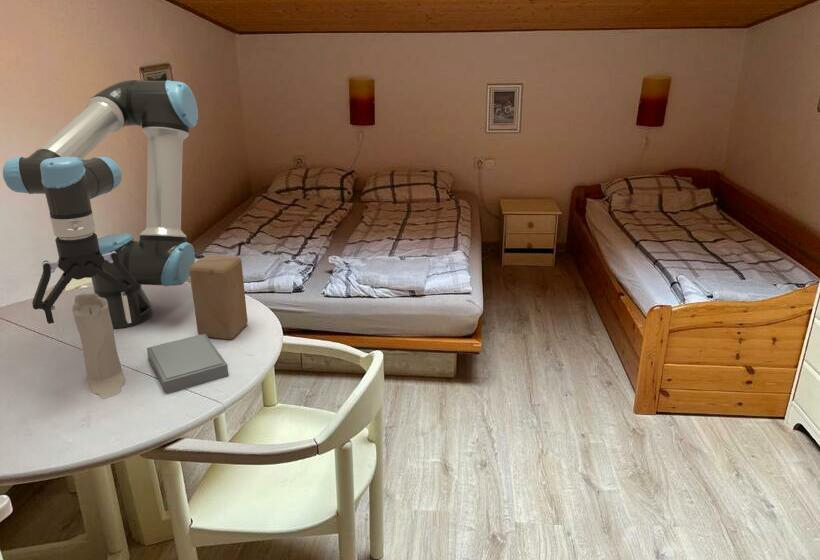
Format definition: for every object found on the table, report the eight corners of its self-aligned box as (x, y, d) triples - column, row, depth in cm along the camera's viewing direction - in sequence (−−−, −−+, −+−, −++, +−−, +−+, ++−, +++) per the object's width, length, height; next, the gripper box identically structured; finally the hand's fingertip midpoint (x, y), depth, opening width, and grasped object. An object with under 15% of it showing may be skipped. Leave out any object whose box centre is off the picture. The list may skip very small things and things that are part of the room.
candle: (93, 401, 126) (74, 318, 118) (86, 372, 137) (68, 294, 129) (129, 392, 130) (113, 310, 122) (120, 364, 140) (104, 287, 133)
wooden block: (232, 341, 152) (223, 269, 144) (196, 337, 153) (186, 266, 146) (249, 324, 161) (242, 256, 153) (215, 320, 163) (207, 252, 155)
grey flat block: (148, 358, 143) (146, 347, 142) (206, 343, 150) (204, 332, 149) (165, 393, 129) (163, 381, 128) (228, 375, 136) (227, 363, 135)
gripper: (3, 250, 110) (28, 349, 118) (144, 230, 123) (159, 321, 131) (2, 239, 116) (26, 335, 124) (137, 221, 129) (151, 309, 137)
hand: (94, 328), depth 128 cm, fingers open, 13 cm apart
